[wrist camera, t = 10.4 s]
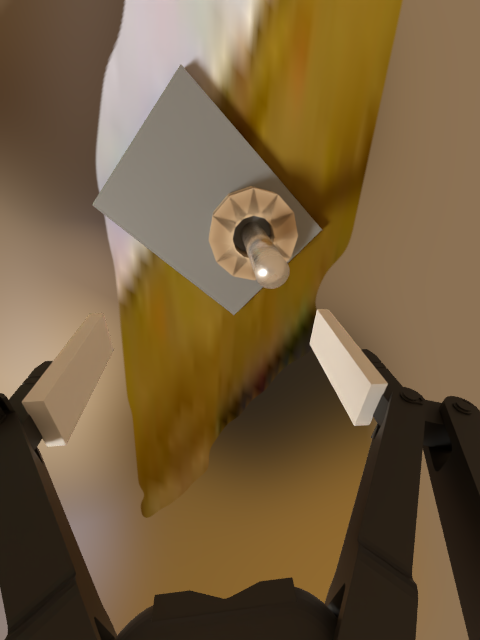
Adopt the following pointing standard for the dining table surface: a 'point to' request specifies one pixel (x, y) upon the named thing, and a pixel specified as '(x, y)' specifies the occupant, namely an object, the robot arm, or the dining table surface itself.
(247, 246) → the peg
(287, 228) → the tan faceted ring
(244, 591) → the robot arm
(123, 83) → the dining table surface
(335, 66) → the dining table surface
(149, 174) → the board
